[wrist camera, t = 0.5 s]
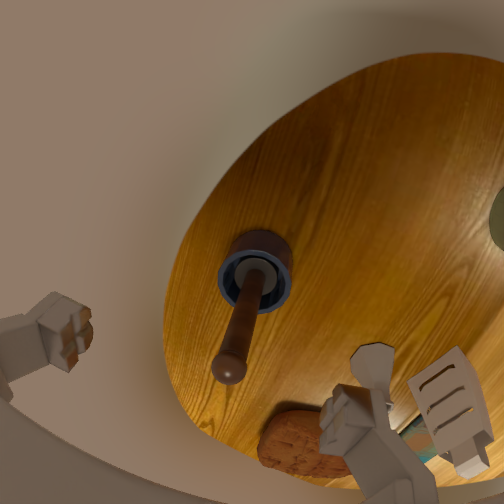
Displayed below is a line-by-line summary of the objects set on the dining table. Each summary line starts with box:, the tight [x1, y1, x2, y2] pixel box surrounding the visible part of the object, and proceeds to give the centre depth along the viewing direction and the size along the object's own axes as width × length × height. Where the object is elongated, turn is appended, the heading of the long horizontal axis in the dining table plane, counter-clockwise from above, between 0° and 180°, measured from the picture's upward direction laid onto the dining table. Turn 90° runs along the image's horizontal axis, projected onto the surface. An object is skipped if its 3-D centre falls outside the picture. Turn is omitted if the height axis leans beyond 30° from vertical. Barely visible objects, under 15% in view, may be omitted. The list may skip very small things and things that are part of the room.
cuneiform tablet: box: [257, 410, 352, 478], centre depth 47 cm, size 22×17×8 cm
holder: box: [218, 230, 293, 314], centre depth 35 cm, size 8×8×6 cm
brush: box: [211, 255, 279, 385], centre depth 29 cm, size 5×5×19 cm
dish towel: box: [399, 414, 457, 464], centre depth 50 cm, size 17×23×3 cm
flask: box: [350, 343, 394, 414], centre depth 37 cm, size 7×7×10 cm
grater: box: [407, 345, 494, 480], centre depth 33 cm, size 10×10×20 cm
